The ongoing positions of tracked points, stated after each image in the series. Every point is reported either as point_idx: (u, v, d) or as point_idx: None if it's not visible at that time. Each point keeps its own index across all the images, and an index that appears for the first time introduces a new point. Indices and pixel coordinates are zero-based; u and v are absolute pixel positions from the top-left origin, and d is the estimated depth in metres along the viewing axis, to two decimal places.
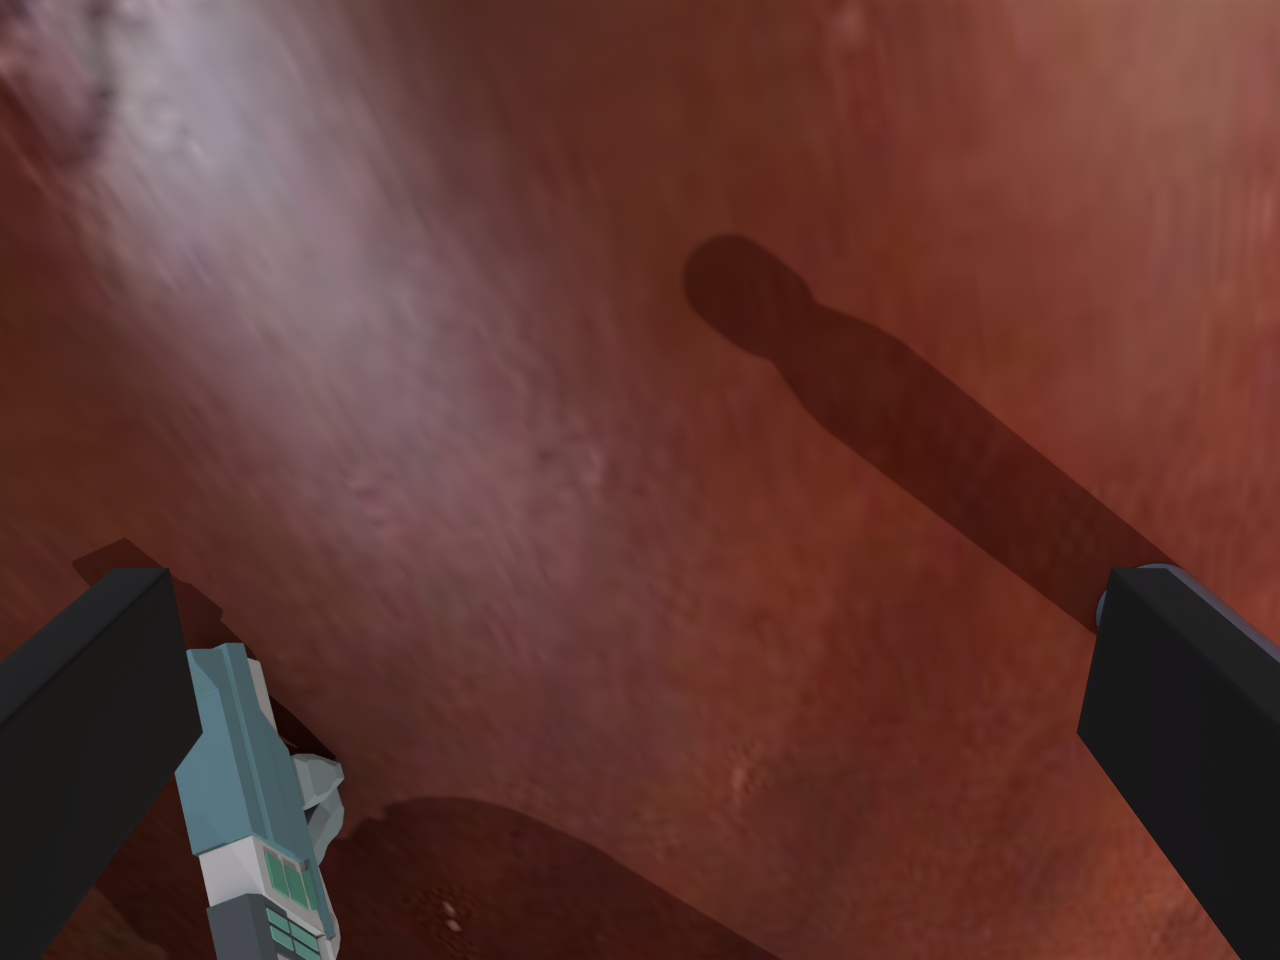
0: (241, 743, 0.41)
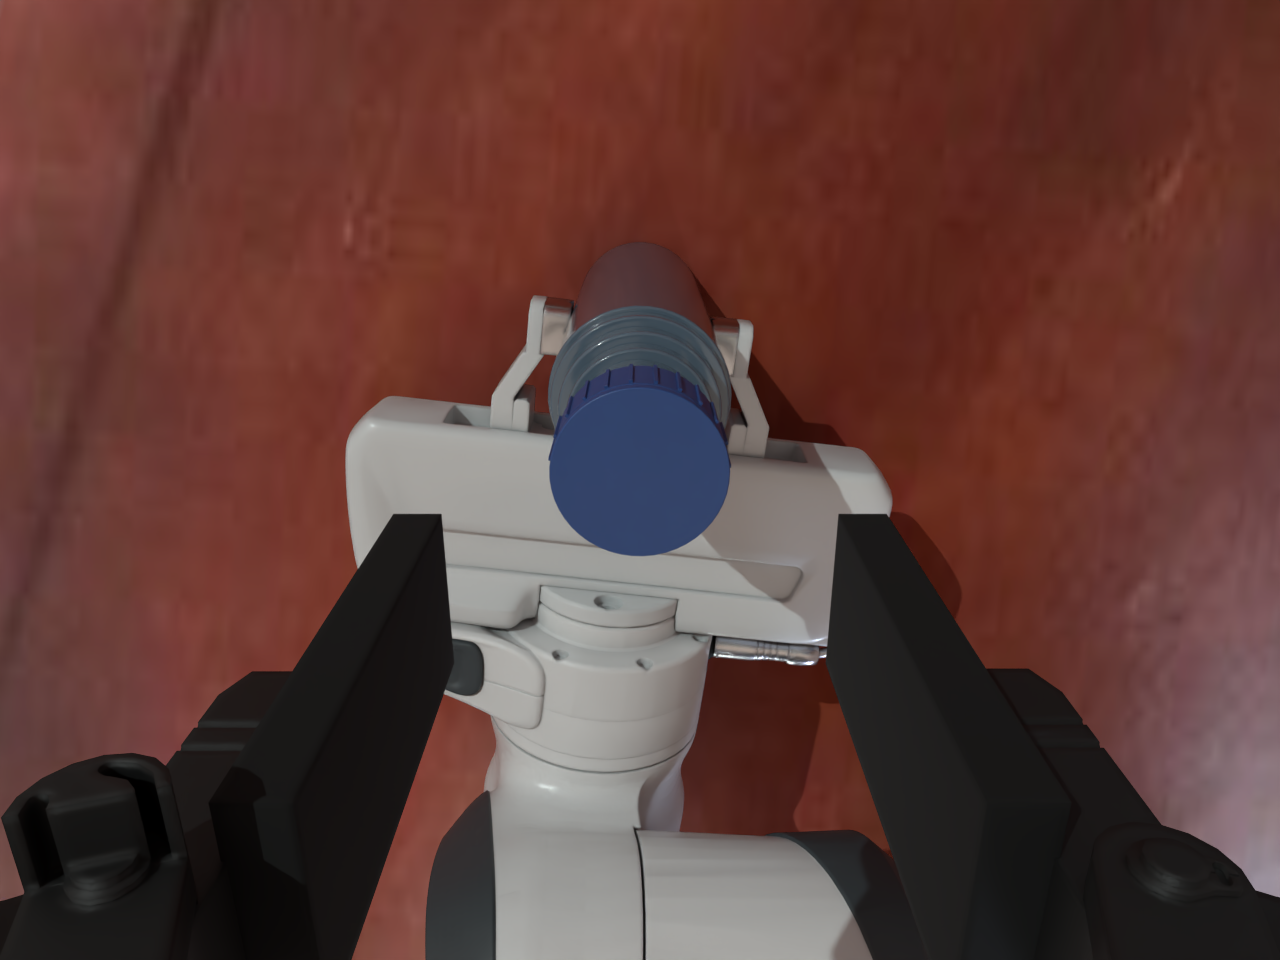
0: None
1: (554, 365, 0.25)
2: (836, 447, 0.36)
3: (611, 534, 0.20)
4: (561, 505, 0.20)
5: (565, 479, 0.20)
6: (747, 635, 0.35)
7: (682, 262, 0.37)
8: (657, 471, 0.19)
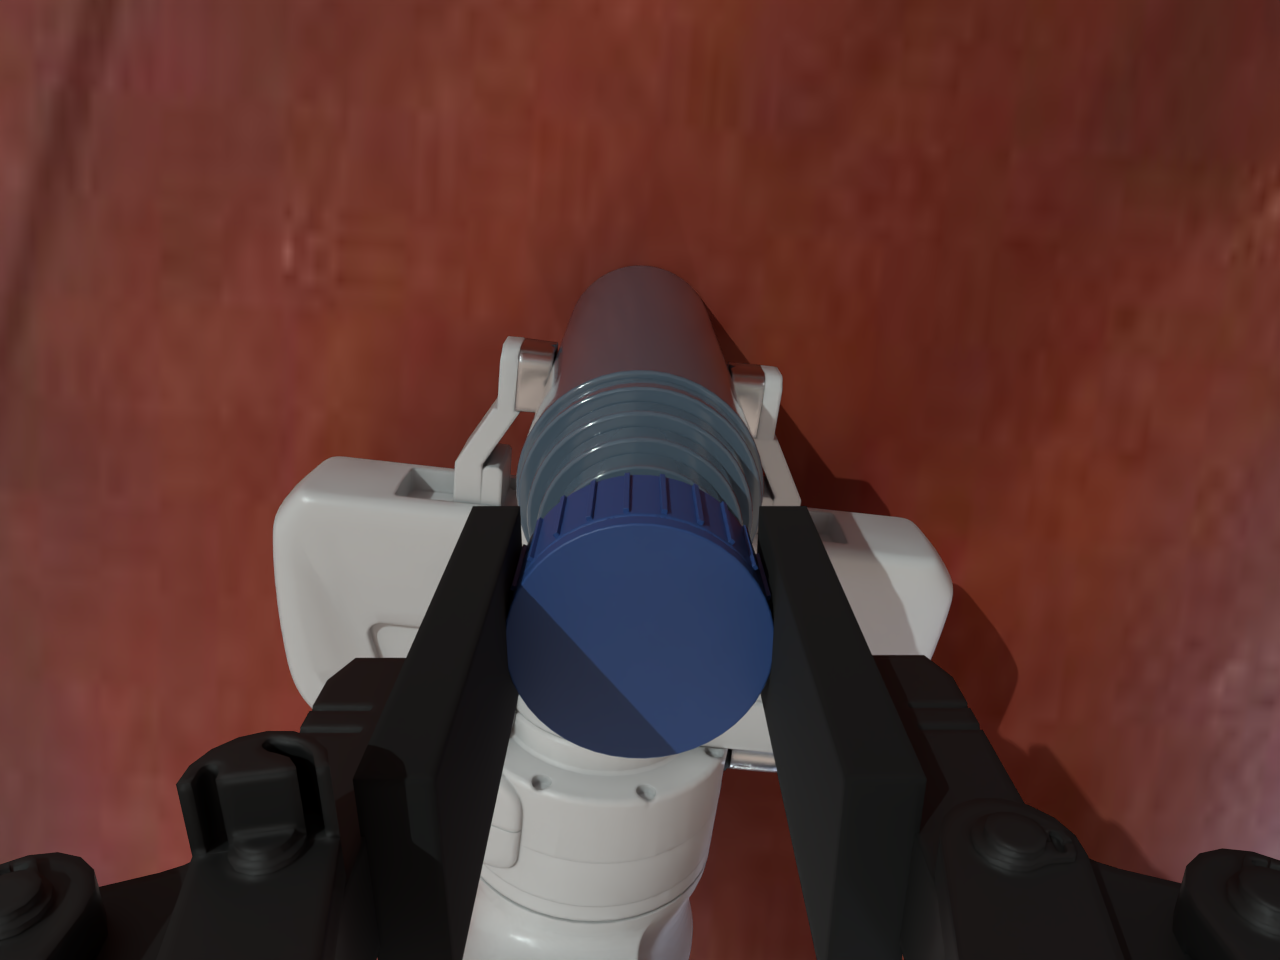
0: None
1: (524, 449, 0.18)
2: (880, 518, 0.29)
3: (597, 729, 0.14)
4: (521, 689, 0.13)
5: (528, 653, 0.13)
6: (771, 749, 0.29)
7: (691, 290, 0.30)
8: (665, 643, 0.13)
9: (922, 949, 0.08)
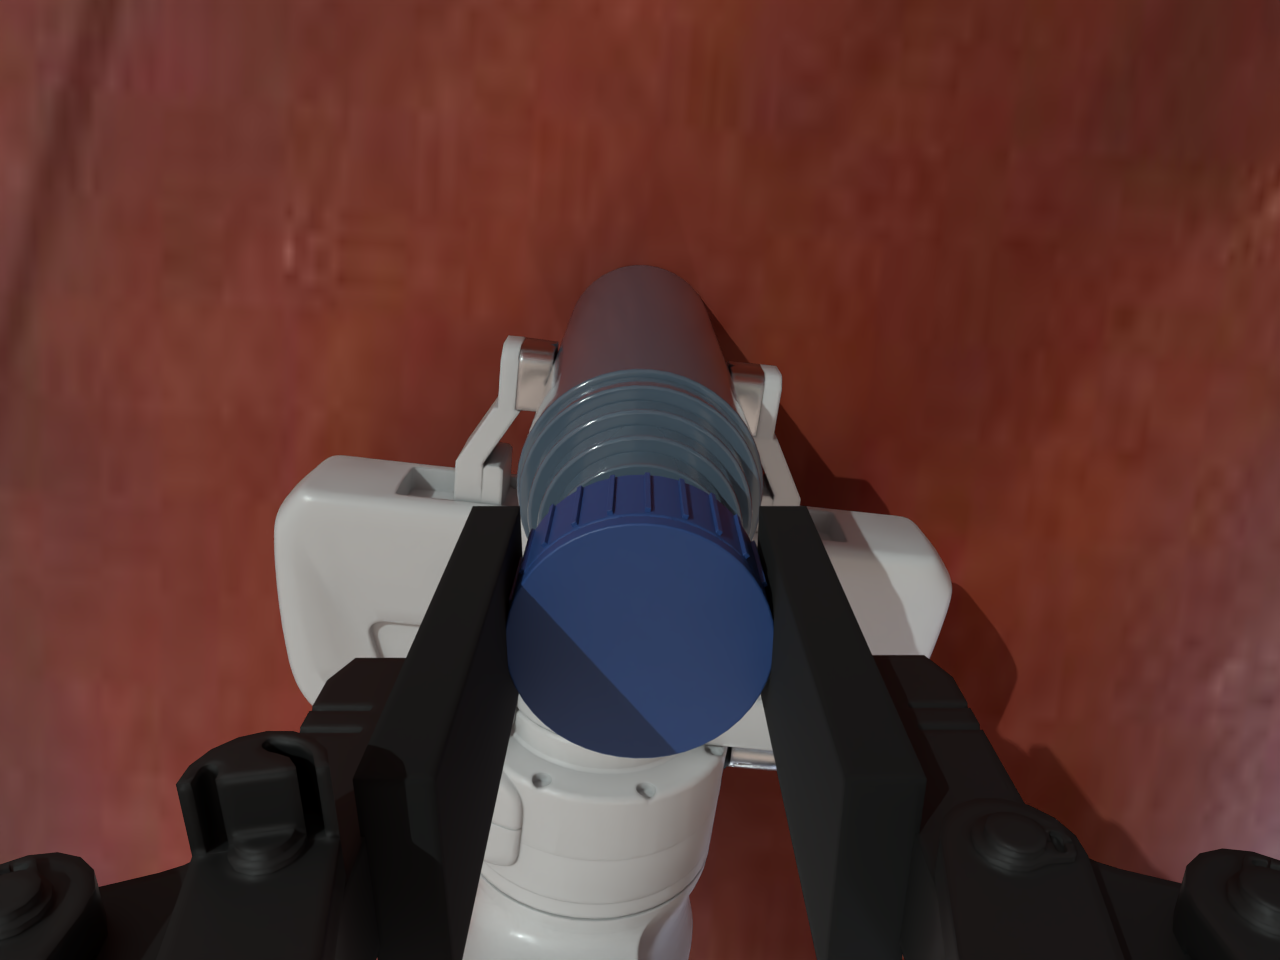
0: None
1: (524, 447, 0.18)
2: (879, 517, 0.29)
3: (742, 668, 0.13)
4: (707, 738, 0.14)
5: (666, 737, 0.14)
6: (771, 747, 0.29)
7: (691, 290, 0.30)
8: (628, 625, 0.13)
9: (922, 949, 0.08)
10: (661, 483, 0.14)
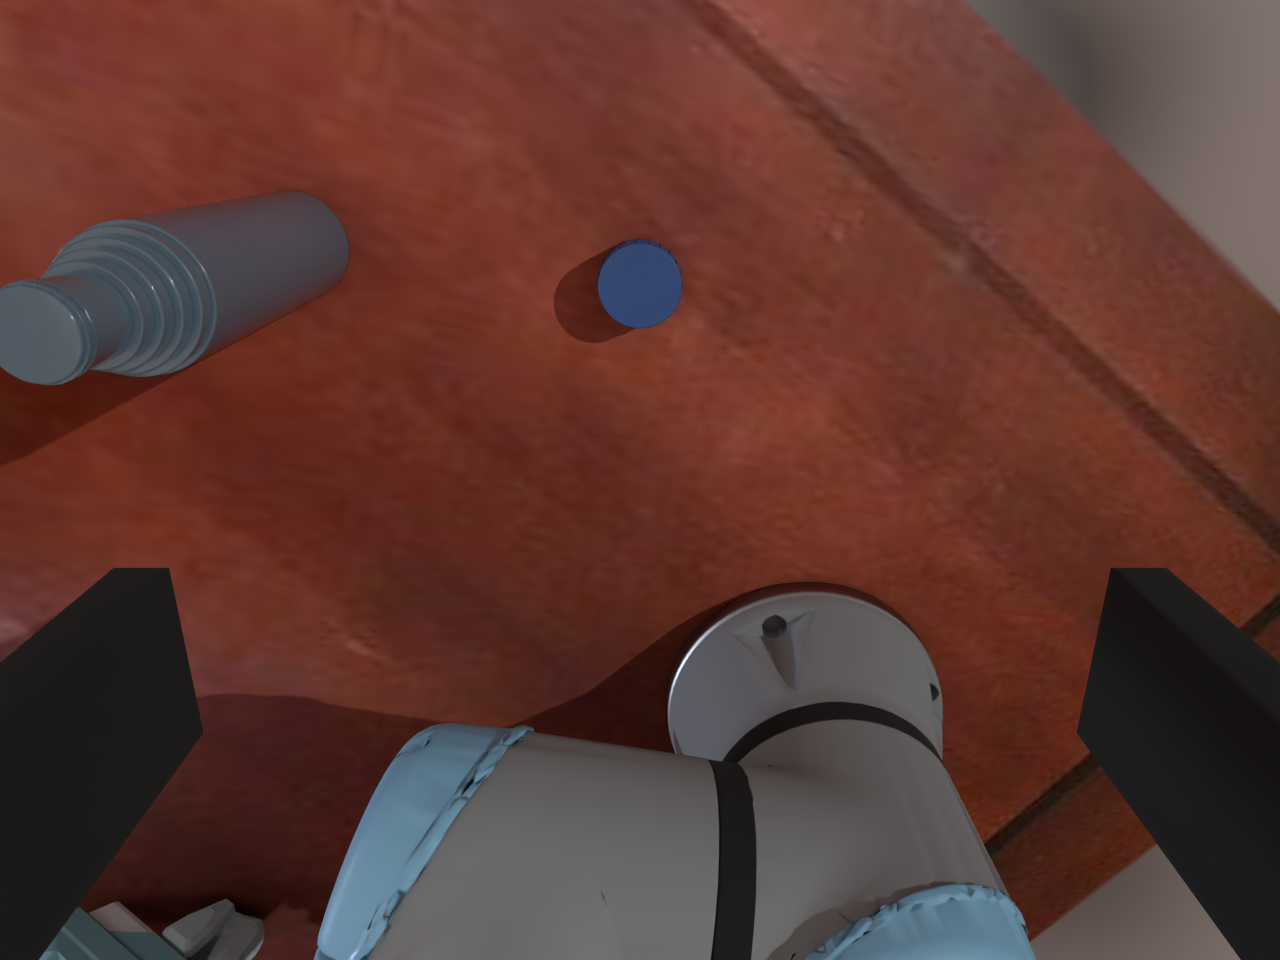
0: None
1: (167, 233, 0.29)
2: None
3: (650, 317, 0.43)
4: (623, 322, 0.43)
5: (616, 311, 0.42)
6: None
7: (324, 293, 0.43)
8: (644, 279, 0.42)
9: None
10: None
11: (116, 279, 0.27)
